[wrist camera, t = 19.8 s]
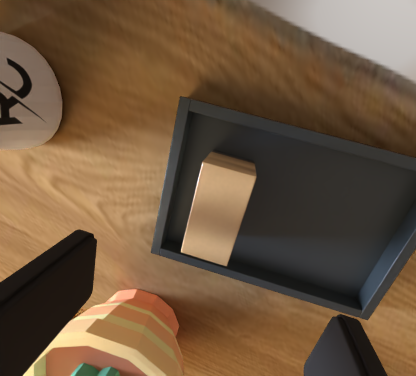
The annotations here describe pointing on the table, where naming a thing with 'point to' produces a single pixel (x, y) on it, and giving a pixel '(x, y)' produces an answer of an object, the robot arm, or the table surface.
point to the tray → (297, 208)
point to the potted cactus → (116, 340)
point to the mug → (26, 96)
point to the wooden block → (218, 206)
